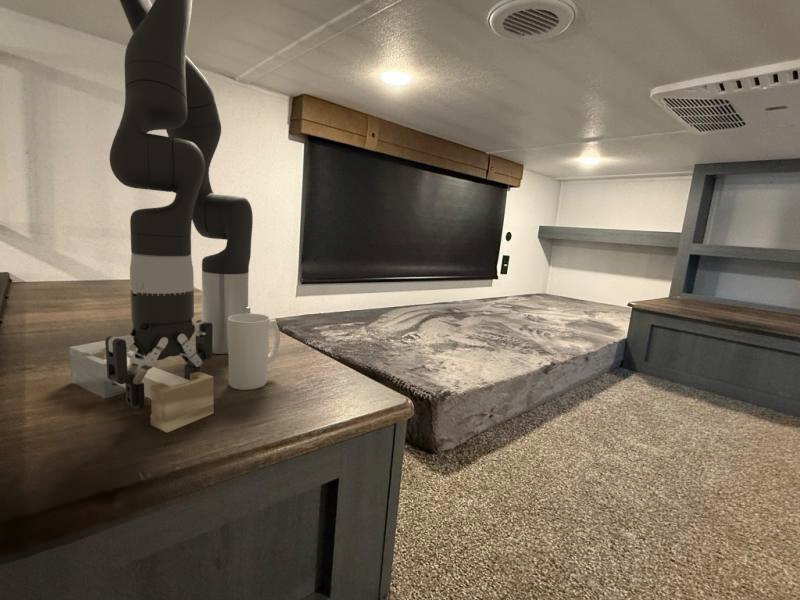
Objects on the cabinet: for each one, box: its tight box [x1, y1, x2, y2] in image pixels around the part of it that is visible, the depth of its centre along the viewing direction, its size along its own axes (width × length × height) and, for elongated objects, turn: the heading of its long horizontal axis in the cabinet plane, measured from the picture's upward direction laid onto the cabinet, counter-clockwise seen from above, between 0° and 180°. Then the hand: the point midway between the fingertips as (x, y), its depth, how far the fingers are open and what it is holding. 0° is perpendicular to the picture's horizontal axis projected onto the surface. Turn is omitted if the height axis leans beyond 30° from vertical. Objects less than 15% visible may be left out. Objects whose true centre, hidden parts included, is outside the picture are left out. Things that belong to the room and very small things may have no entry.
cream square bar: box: [105, 357, 190, 400], centre depth 58 cm, size 18×3×3 cm, turn 62°
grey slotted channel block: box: [68, 340, 145, 400], centre depth 63 cm, size 10×6×6 cm, turn 62°
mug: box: [228, 313, 281, 391], centre depth 69 cm, size 10×7×12 cm, turn 146°
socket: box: [150, 371, 215, 433], centre depth 55 cm, size 4×7×6 cm, turn 152°
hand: (165, 397), depth 57 cm, fingers open, 7 cm apart
